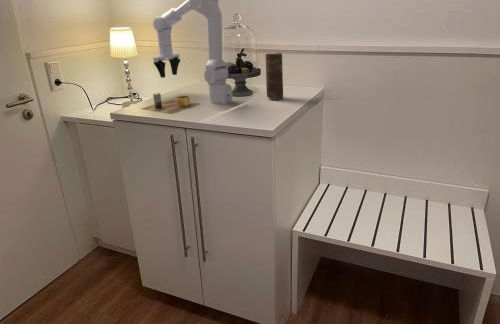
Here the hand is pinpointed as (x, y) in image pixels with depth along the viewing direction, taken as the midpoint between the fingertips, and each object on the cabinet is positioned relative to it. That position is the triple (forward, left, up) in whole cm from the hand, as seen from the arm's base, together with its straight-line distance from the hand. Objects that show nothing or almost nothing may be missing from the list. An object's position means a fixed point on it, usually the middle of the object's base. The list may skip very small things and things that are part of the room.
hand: (168, 76), depth 173 cm
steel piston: (-11, +19, -10) cm, 24 cm away
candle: (-46, -18, -10) cm, 50 cm away
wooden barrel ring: (-19, +12, -9) cm, 24 cm away
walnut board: (-15, +15, -10) cm, 23 cm away
